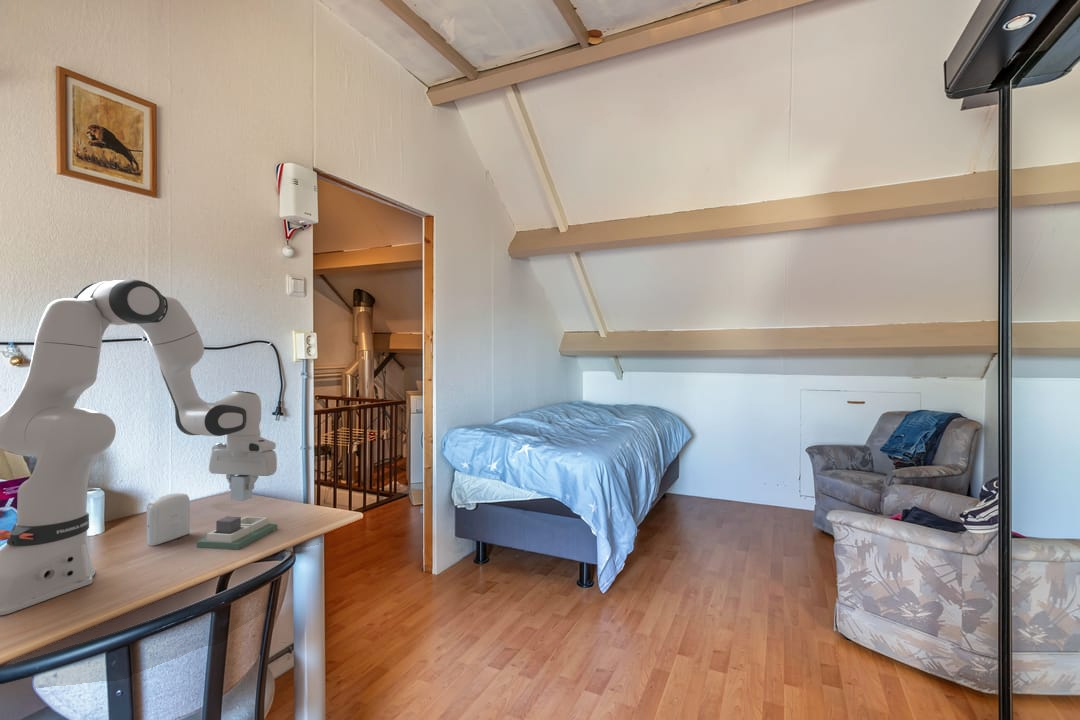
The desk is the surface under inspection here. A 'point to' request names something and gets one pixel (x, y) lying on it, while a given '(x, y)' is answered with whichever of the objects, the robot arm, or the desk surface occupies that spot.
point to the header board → (236, 532)
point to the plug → (240, 488)
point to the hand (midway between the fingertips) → (241, 489)
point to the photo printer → (168, 518)
